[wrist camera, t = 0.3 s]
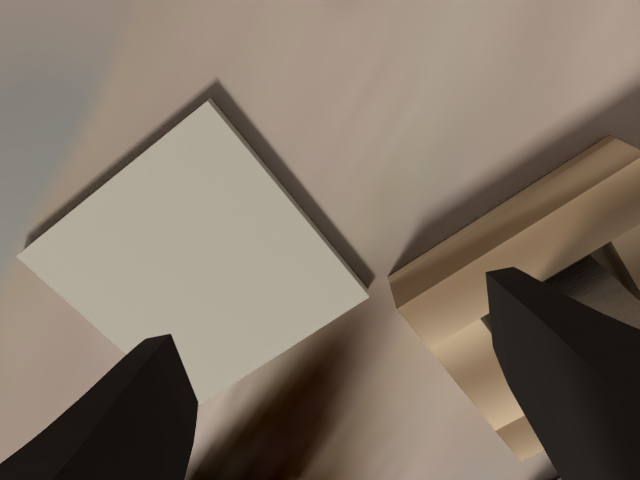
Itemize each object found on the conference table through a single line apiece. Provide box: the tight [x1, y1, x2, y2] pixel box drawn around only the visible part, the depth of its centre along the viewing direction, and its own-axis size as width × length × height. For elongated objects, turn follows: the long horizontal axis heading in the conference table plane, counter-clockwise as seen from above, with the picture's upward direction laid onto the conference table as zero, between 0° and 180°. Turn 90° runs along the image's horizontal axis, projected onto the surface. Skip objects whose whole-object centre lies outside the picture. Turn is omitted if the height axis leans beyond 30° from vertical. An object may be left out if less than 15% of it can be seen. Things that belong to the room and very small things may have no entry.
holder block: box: [388, 135, 640, 462], centre depth 22 cm, size 10×10×2 cm
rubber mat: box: [16, 98, 370, 406], centre depth 22 cm, size 10×10×1 cm
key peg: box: [543, 254, 640, 329], centre depth 20 cm, size 4×4×7 cm
